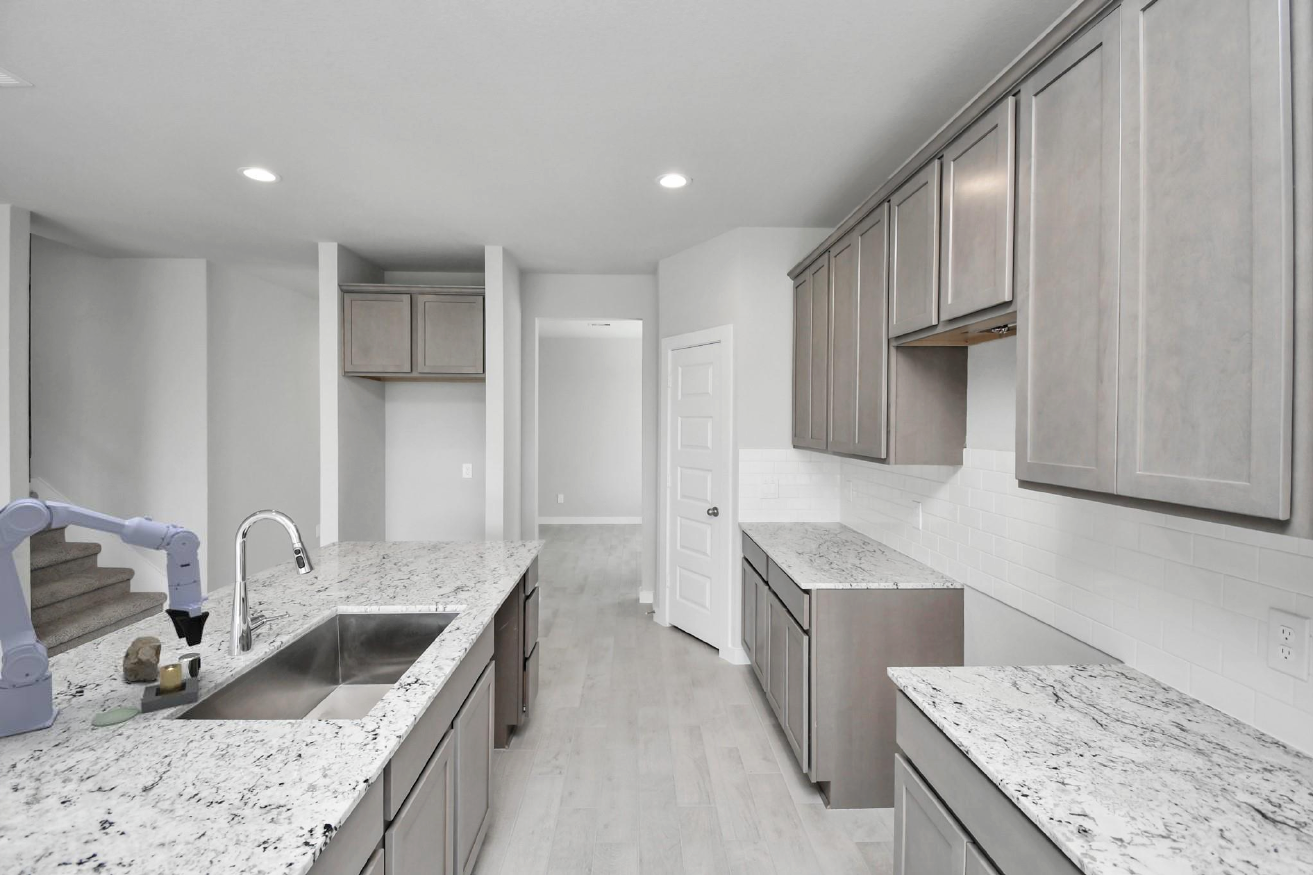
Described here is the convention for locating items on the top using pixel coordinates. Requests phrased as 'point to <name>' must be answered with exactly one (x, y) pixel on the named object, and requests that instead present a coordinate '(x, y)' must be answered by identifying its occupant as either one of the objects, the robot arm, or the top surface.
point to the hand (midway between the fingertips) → (189, 641)
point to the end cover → (170, 679)
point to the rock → (142, 659)
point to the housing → (169, 696)
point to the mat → (115, 716)
